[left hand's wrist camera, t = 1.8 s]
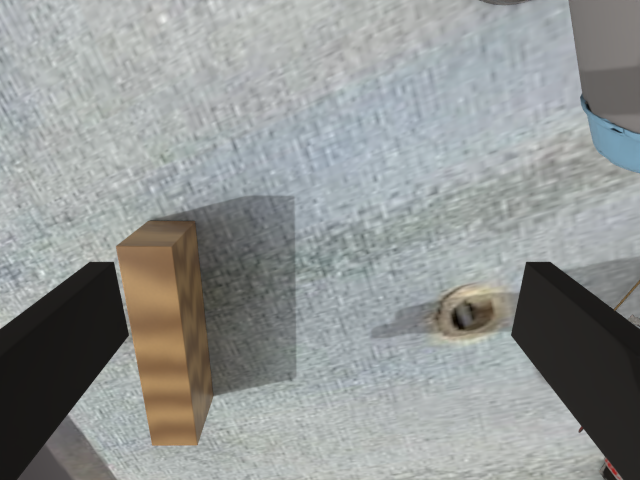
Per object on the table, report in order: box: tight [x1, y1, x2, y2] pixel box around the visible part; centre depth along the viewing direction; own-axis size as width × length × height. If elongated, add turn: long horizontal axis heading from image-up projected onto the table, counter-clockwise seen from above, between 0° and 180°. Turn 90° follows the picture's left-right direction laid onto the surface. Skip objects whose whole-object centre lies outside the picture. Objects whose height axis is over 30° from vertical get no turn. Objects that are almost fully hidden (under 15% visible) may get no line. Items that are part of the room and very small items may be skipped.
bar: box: [116, 221, 213, 446], centre depth 45 cm, size 25×5×8 cm, turn 179°
